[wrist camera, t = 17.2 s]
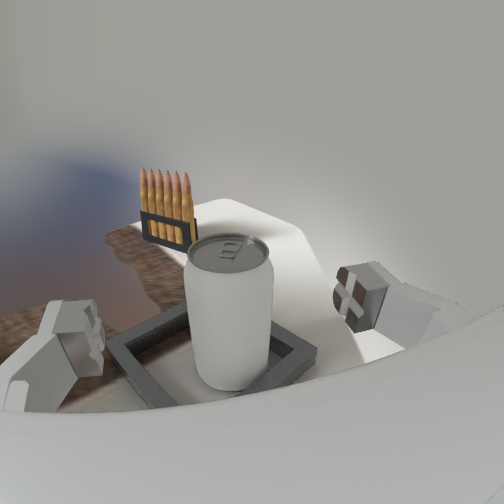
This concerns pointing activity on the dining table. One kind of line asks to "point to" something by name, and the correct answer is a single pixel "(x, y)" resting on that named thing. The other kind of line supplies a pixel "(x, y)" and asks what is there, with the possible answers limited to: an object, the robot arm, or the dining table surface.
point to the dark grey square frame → (176, 318)
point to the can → (229, 308)
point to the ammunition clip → (167, 211)
